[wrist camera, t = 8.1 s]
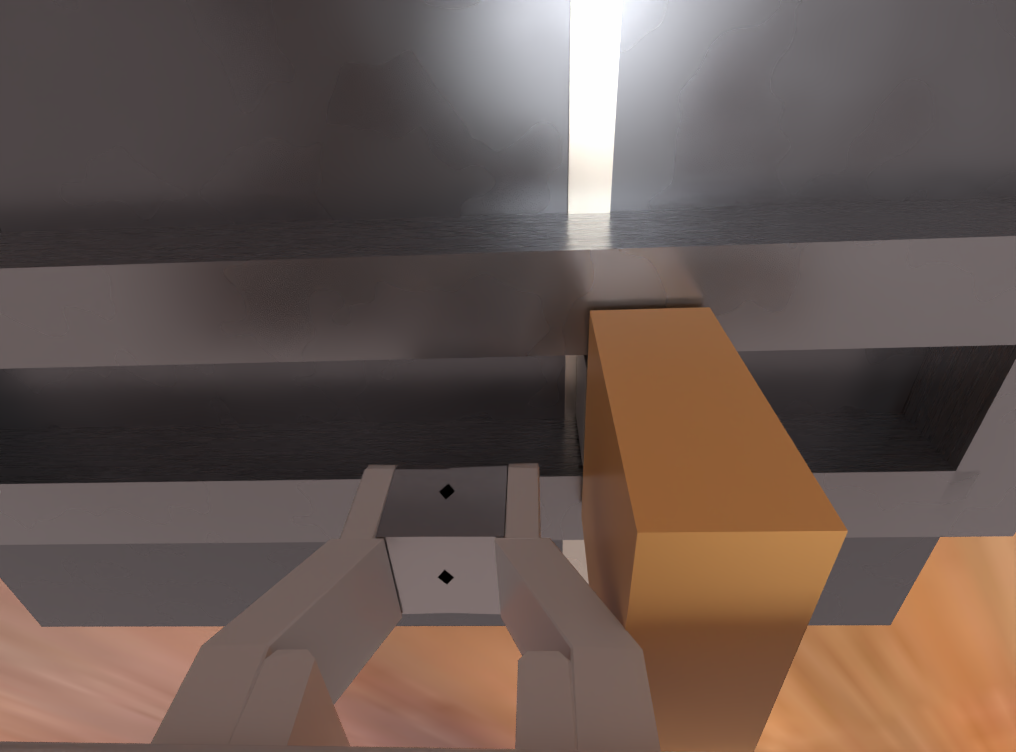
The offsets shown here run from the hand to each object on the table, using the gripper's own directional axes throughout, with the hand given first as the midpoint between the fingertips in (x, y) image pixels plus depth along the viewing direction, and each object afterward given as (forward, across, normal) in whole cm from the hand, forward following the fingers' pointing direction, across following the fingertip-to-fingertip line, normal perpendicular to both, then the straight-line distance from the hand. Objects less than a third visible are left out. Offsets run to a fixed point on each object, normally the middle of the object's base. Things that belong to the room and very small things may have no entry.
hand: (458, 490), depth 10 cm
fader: (+4, -3, 0) cm, 5 cm away
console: (+6, +2, 0) cm, 6 cm away
